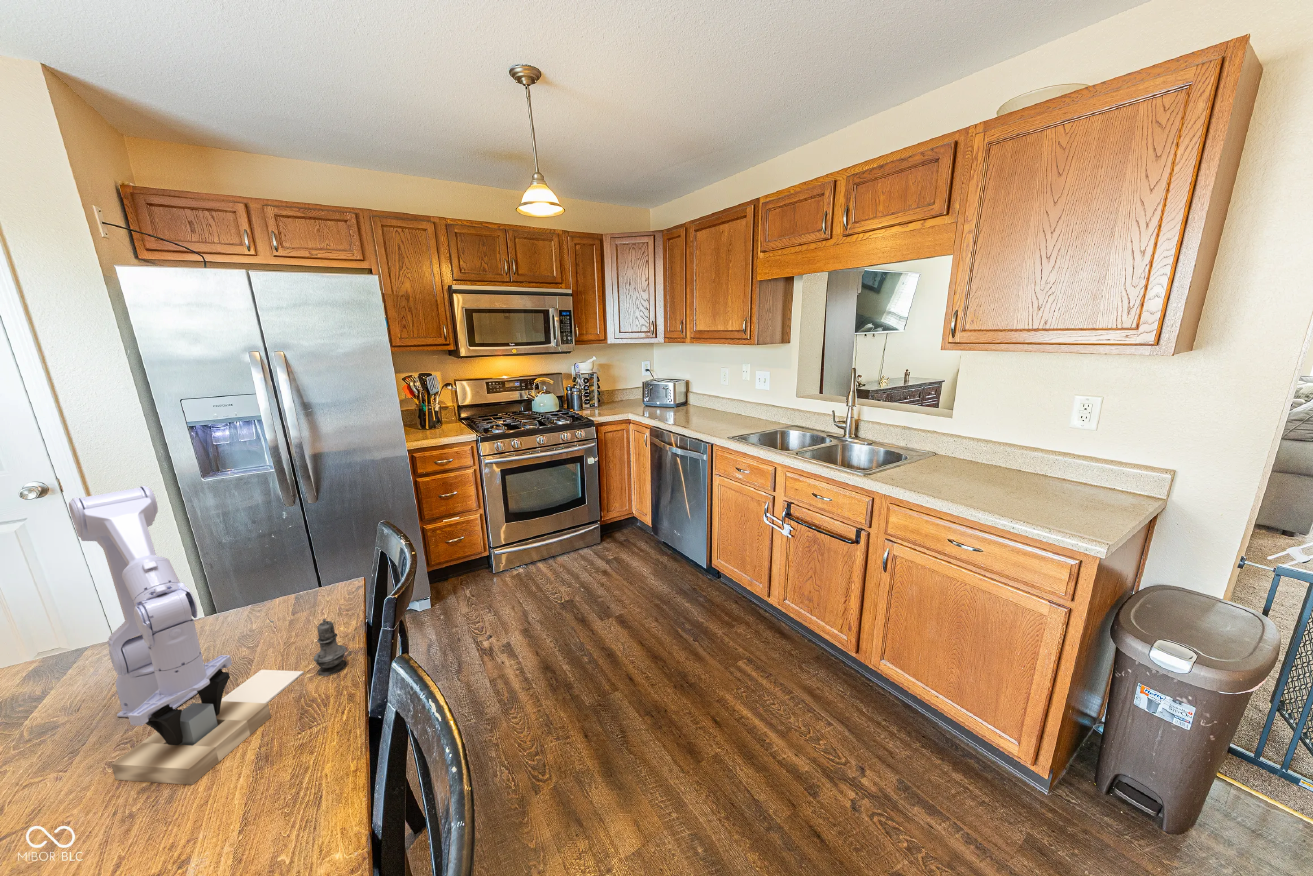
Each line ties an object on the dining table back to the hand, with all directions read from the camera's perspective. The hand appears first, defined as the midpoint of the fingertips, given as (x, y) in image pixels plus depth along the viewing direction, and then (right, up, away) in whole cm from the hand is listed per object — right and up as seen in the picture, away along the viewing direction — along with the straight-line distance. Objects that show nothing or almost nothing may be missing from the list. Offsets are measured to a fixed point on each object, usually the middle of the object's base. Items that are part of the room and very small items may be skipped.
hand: (194, 728), depth 81 cm
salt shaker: (+10, 0, +21) cm, 23 cm away
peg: (0, -4, +1) cm, 4 cm away
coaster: (-1, -1, +14) cm, 15 cm away
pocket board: (0, -4, +1) cm, 4 cm away
